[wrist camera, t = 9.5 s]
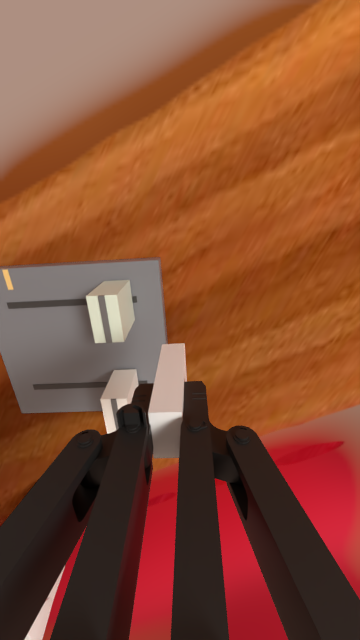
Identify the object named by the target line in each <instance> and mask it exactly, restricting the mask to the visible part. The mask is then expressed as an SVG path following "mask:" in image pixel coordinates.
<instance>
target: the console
mask: <svg viewBox="0 0 360 640" xmlns="http://www.w3.org/2000/svg"><path fill="white" fill-rule="evenodd" d="M116 280H130V287H131V294H132V302H133V310H134V317H135V321H134V323H133V325H132V327H131V329H130V331H129V333H128V335H127V337H126V339H125V341H124V342H112V343H95V340H94V335H93V330H92V325H91V320H90V315H89V310H88V305H87V300H86V296H87V295H88V294H89V293H90V292H91V291H93V290H94V289H95V288H96V287H97V286H99V285H100V284H101V283H102V282H103V281H116ZM162 344H168V342H167V330H166V319H165V307H164V296H163V284H162V273H161V261H160V257H155V258H137V259H120V260H102V261H85V262H67V263H50V264H32V265H15V266H0V352H1V355H2V358H3V361H4V364H5V366H6V369H7V372H8V375H9V378H10V381H11V384H12V386H13V389H14V392H15V395H16V398H17V401H18V404H19V406H20V409H21V412H22V413H48V412H81V411H103V410H102V405H101V400H100V399H101V397H102V395H103V392H104V390H105V388H106V386H107V384H108V382H109V380H110V377H111V375H112V373H113V371H114V370H128V369H136V371H137V378H138V385H139V384H145V383H154V381H155V377H156V372H157V367H158V362H159V357H160V352H161V347H162Z"/></svg>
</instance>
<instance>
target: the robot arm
mask: <svg viewBox="0 0 360 640" xmlns="http://www.w3.org/2000/svg"><path fill="white" fill-rule="evenodd" d="M116 416H117V422H118V427H119V428H118V430H116V431H114V432H112V433H109V434H105V435H100V434H99V432H98V431H96V430H85V431H82V432H80V433H78V434H76V435H75V436H74V437H73V438H72V439H71V441H70V442H69V443H68V444H67V446H66V447H65V448H64V449H63V450H62V452H61V453H60V454H59V455H58V457H57V458H56V459H55V460H54V462H53V463H52V464H51V465H50V466H49V468H48V469H47V470H46V471H45V473H44V474H43V475H42V476H41V478H40V479H39V480H38V481H37V482H36V484H35V485H34V486H33V487H32V489H31V490H30V491H29V492H28V494H27V495H26V496H25V497H24V498H23V500H22V501H21V502H20V503H19V505H18V506H17V507H16V508H15V510H14V511H13V512H12V513H11V514H10V516H9V517H8V518H7V519H6V521H5V522H4V523H3V524H2V526H1V527H0V640H25V638H26V636H27V634H28V632H29V630H30V629H31V627H32V625H33V623H34V621H35V619H36V618H37V616H38V614H39V612H40V610H41V608H42V607H43V605H44V603H45V601H46V599H47V597H48V596H49V594H50V592H51V590H52V588H53V586H54V585H55V583H56V581H57V579H58V577H59V575H60V574H61V572H62V570H63V568H64V566H65V564H66V562H67V561H68V559H69V557H70V555H71V553H72V552H73V550H74V548H75V546H76V544H77V542H78V540H79V539H80V537H81V535H82V533H83V531H84V529H85V528H86V530H85V533H84V536H83V539H82V542H81V546H80V549H79V552H78V555H77V558H76V561H75V564H74V567H73V570H72V573H71V576H70V580H69V582H68V586H67V589H66V592H65V595H64V598H63V601H62V604H61V607H60V610H59V613H58V616H57V620H56V623H55V626H54V629H53V632H52V635H51V638H50V640H129V634H130V627H131V620H132V613H133V605H134V598H135V592H136V585H137V577H138V569H139V563H140V556H141V549H142V542H143V534H144V527H145V520H146V513H147V506H148V499H149V492H150V484H151V477H152V470H153V465H152V455H154V458H179V473H178V495H177V517H176V539H175V560H174V582H173V583H174V584H173V605H172V626H171V627H172V628H171V640H229V634H228V623H227V611H226V600H225V588H224V579H223V578H224V577H223V566H222V555H221V544H220V533H219V522H218V511H217V500H216V488H215V478H217V479H220V480H223V481H226V482H227V486H228V488H229V490H230V493H231V496H232V498H233V501H234V503H235V506H236V508H237V511H238V513H239V516H240V518H241V521H242V523H243V526H244V529H245V531H246V534H247V536H248V539H249V541H250V544H251V546H252V549H253V551H254V554H255V556H256V559H257V561H258V564H259V567H260V569H261V572H262V574H263V577H264V579H265V582H266V584H267V587H268V589H269V592H270V594H271V597H272V599H273V602H274V604H275V607H276V609H277V612H278V615H279V617H280V619H281V622H282V624H283V627H284V630H285V632H286V635H287V637H288V639H289V640H360V600H359V598H358V596H357V595H356V593H355V591H354V590H353V588H352V587H351V585H350V583H349V582H348V580H347V579H346V577H345V575H344V574H343V572H342V571H341V569H340V567H339V566H338V564H337V563H336V561H335V559H334V558H333V556H332V555H331V553H330V551H329V550H328V548H327V547H326V545H325V543H324V542H323V540H322V538H321V537H320V535H319V534H318V532H317V530H316V529H315V527H314V526H313V524H312V522H311V521H310V519H309V518H308V516H307V514H306V513H305V511H304V509H303V508H302V506H301V505H300V503H299V501H298V500H297V498H296V497H295V495H294V494H293V492H292V490H291V489H290V487H289V486H288V484H287V482H286V481H285V479H284V477H283V476H282V474H281V473H280V471H279V469H278V468H277V466H276V464H275V463H274V461H273V460H272V458H271V457H270V455H269V453H268V452H267V450H266V449H265V447H264V445H263V444H262V442H261V440H260V439H259V437H258V435H257V434H256V433H255V432H254V431H253V430H252V429H250V428H249V427H246V426H234V427H232V428H230V429H229V430H228V431H224V430H220V429H218V428H216V427H214V426H213V425H212V424H211V423H210V421H209V418H208V407H207V396H206V386H205V385H204V384H203V382H202V381H191V382H187V376H186V359H185V343H183V344H162V347H161V352H160V357H159V362H158V367H157V372H156V377H155V381H154V383H145V384H139V386H138V387H137V388H136V389H135V391H134V394H133V398H132V402H131V404H127V405H124V406H122V407H121V408H120V409H118V411H117V413H116ZM86 526H87V527H86Z"/></svg>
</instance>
